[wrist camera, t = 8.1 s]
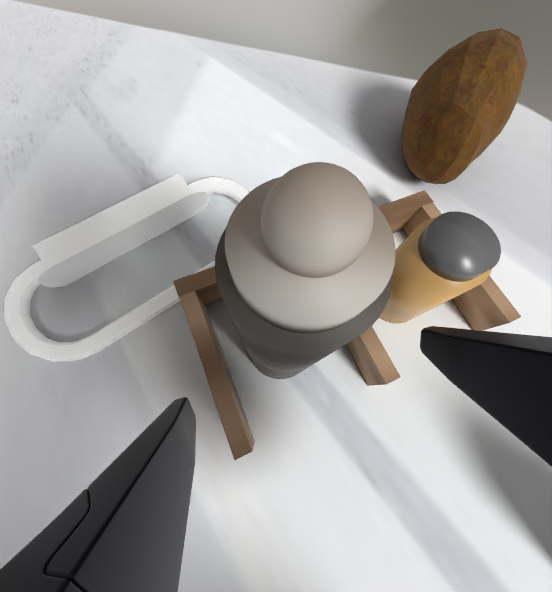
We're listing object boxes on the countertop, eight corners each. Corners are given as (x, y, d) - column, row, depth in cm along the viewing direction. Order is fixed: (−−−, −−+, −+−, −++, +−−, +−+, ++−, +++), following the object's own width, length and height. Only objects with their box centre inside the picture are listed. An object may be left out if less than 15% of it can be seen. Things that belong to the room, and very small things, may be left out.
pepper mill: (315, 376, 18) (517, 307, 4) (249, 381, 18) (175, 332, 3) (307, 313, 20) (424, 86, 5) (246, 317, 20) (187, 90, 5)
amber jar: (431, 310, 20) (527, 262, 13) (383, 332, 20) (456, 294, 12) (400, 263, 22) (471, 195, 14) (354, 282, 21) (404, 221, 13)
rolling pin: (62, 380, 19) (24, 391, 16) (2, 290, 20) (-50, 280, 16) (277, 244, 24) (287, 228, 20) (228, 173, 24) (228, 144, 21)
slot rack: (486, 326, 20) (522, 316, 17) (238, 449, 17) (232, 461, 14) (405, 214, 23) (424, 190, 21) (186, 296, 20) (173, 281, 17)
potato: (357, 160, 26) (401, 50, 17) (421, 102, 29) (482, -13, 21) (432, 209, 24) (519, 113, 16) (490, 142, 27) (588, 33, 19)
